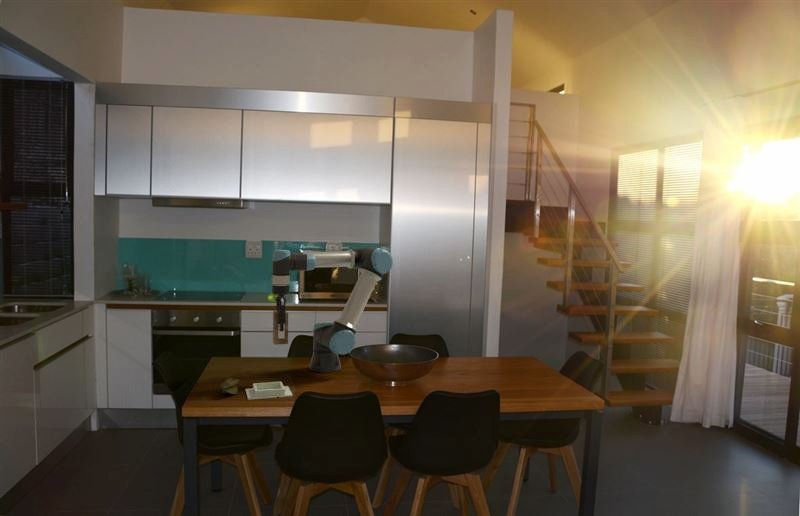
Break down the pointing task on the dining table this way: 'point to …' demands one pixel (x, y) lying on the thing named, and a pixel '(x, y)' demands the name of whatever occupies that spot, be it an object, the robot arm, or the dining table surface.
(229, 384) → the fruit
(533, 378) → the dining table surface
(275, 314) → the wooden square post
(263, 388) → the holder plate
